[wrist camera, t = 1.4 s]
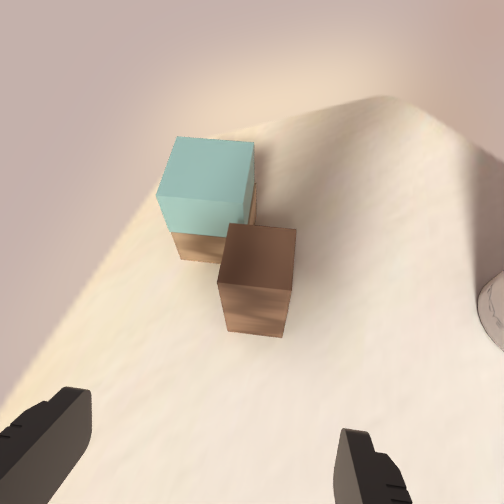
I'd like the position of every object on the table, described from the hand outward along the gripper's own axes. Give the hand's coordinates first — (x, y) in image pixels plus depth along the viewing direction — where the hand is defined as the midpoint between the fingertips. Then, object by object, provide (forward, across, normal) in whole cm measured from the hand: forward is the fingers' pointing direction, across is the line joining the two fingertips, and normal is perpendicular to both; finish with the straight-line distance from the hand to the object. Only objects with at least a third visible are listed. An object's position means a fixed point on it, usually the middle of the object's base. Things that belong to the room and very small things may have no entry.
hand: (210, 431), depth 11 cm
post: (+21, 0, +4) cm, 22 cm away
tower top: (+24, +5, -5) cm, 25 cm away
